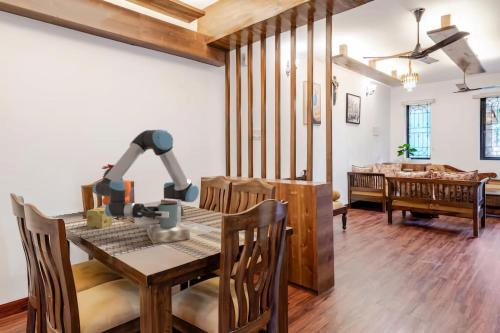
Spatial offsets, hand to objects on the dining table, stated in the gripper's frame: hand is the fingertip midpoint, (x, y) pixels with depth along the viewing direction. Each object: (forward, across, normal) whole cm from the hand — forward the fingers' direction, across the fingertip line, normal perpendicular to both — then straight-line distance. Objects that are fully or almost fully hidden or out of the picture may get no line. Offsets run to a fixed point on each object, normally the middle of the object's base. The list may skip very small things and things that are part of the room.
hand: (173, 212), depth 161 cm
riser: (-3, 0, -13) cm, 13 cm away
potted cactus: (-67, -58, -13) cm, 89 cm away
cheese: (-51, -15, -13) cm, 55 cm away
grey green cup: (-3, -2, -8) cm, 9 cm away
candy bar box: (-9, -19, -13) cm, 25 cm away
